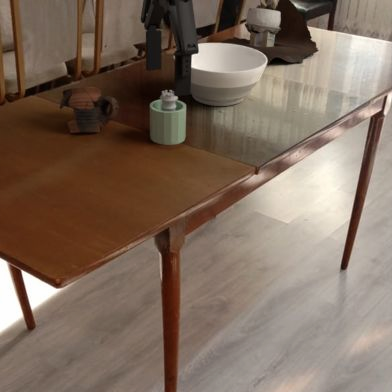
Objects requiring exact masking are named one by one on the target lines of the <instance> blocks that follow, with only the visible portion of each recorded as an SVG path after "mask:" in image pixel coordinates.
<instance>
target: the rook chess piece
mask: <svg viewBox="0 0 392 392" xmlns="http://www.w3.org/2000/svg"><path fill="white" fill-rule="evenodd" d="M159 100H161V101H162V105H161V107H162V111H175V108H176V105H175V102H176V100H179V96H175V95H174V90H173V89H169V92H168V89H164V90H162V91H161V95H160V96H159Z"/></svg>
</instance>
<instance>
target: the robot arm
mask: <svg viewBox="0 0 392 392" xmlns="http://www.w3.org/2000/svg"><path fill="white" fill-rule="evenodd" d="M165 14H166V15H167V16H168V17H169V23H170V26H171V32H172V35H173V39H174V44H175V47H176V50H175V51H174V52H173V54H172V55H174V56H175V60H174V69H173V70H174V71H173V72H174V73H173V76H174V77H173V91H174V95H175V96H177V97H180V96H181V97H182V96H190V95H191V93H190V92H191V62H192V55H193V54H198V52H199V48H198V44H199V41H198V34H197V25H196V18H195V10H194V3H193V0H142V6H141V12H140V23H141V24H143V27H144V30H145V66H146V67H145V69H146V71H147V72H149V71H160V70H162V30H163V29H164V27H163V24H162V21H163V18H164V15H165ZM174 56H173V57H174Z"/></svg>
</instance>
